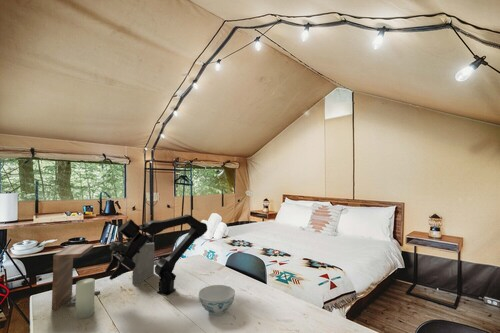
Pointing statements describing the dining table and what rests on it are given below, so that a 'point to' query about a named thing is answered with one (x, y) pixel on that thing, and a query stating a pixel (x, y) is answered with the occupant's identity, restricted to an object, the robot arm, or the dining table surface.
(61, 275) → the walnut overhang
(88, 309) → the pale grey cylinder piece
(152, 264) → the hip flask
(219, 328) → the dining table surface
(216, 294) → the chinaware
